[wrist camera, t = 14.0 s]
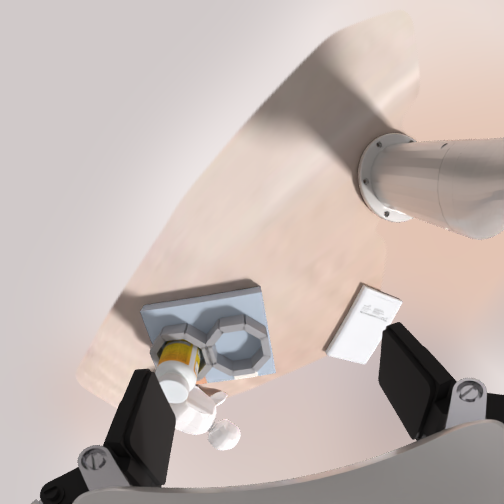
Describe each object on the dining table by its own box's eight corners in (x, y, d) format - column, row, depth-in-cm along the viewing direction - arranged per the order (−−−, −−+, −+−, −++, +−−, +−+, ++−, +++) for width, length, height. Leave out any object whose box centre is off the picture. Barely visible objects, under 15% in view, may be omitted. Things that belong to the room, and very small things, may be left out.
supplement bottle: (208, 353, 40) (203, 398, 31) (181, 368, 41) (171, 412, 32) (184, 327, 39) (172, 369, 30) (157, 344, 40) (141, 386, 30)
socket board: (260, 286, 40) (263, 300, 36) (274, 365, 44) (277, 383, 40) (144, 305, 40) (135, 320, 36) (171, 378, 44) (167, 396, 40)
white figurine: (168, 390, 49) (232, 438, 46) (143, 412, 40) (216, 466, 38) (187, 362, 47) (258, 414, 44) (162, 383, 39) (243, 444, 36)
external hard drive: (324, 349, 44) (361, 283, 42) (362, 359, 46) (399, 298, 43) (326, 355, 43) (365, 287, 40) (365, 364, 44) (404, 302, 41)
